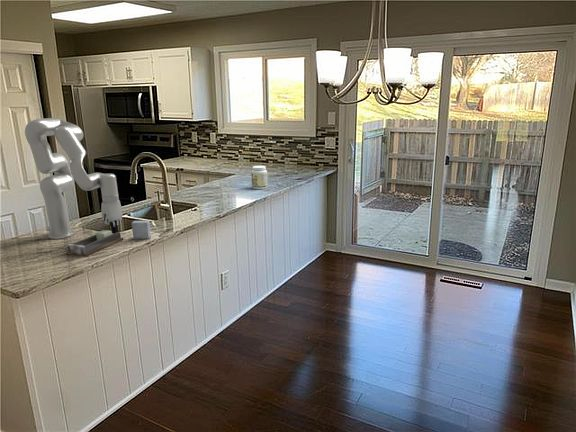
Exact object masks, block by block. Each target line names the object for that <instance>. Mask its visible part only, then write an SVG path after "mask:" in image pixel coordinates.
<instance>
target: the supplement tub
mask: <svg viewBox="0 0 576 432" xmlns="http://www.w3.org/2000/svg"><path fill="white" fill-rule="evenodd" d="M251 169H252V170H251V173H250V174H251V188H252V189H254V190H264V189H265V190H266V189H267V188H268V170H267V168H266V166H265V165H253V166H252V168H251Z"/></svg>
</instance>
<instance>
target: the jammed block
mask: <svg viewBox="0 0 576 432" xmlns="http://www.w3.org/2000/svg"><path fill="white" fill-rule="evenodd" d="M111 234H112V231H111V230H109V229H108V230H107V229H102V230H100V231H97V232H95V235H96V238H97V240H100V239H102V238H104V237H107V236H109V235H111Z"/></svg>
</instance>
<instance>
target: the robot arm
mask: <svg viewBox="0 0 576 432" xmlns="http://www.w3.org/2000/svg"><path fill="white" fill-rule="evenodd" d="M24 136H25V139H26V141H27V143H28V145H29V148H30V151H31V153H32V156H33V159H34V163H35V166H36V168H37V170H38V172H39V173H41V174H43V175H47V174H52V173H54V175H49V176H46V177H44V178H43V179H41V181H40V182H39V189H40V191H41V194H42V196H43V202H44V205H45V209H46V215H47V221H48V225H49V226H48V227H46V228H45V231H47V232H49V233H48V234H47V238H48V239H51V240H57V239H58V240H59V239H66V238H69V237H72V236H74V235H75V230H73V229H72V228H71V223H70V219H69V217H70V216H69V211H68V205H67V201H66V198H65V196H64V195H63V194H62V193H65V192H67V191H70V190H72V189H73V188H74V184H75V183H76V184H77V185H78V186H79V188H80V189H81V190H83V191H89V192H90V191H92V190H95V189H99V188H100V191H101V199H102V202H101V205H100V206H101V208H100V210H101V221H102V222H104V225H106V226H109V227H110V231H112V234H114V233H116V232H120V231H119V225H120V223H119V222H121V220H123V209H122V205H121V200H120V199H119V191H118V183H117V175H115V174H114V173H102V172H93V173H89V174H88V173H87V172H86V170H85V169H84V166H83V160H84V158H85V156H86V155H87V151H86V149H85V148H84V146H83V145H82V143H81V141H82V140H83V138H84V131H83V130H82V129H81V128H80V126H78V125H77V124H74V123H71V122H69V121H66V120H63V119H60V118H56V117H47V118H44V117H43V118H35V119H33V120H30V121H29V122H27V124H26V126H25V128H24ZM50 136H54V137H55V139H56V141H57V143H58V144H59V145H60V147H61V148H62V150H63V151H64V153H65V155H66V156H67V157H68V159H69V161H68V159H67V157H66V156H65V155H64V154H62V153H60V152H53V151H52V149H51V146H50V143H49V142H48V141H47V139H46V138H45V137H50Z"/></svg>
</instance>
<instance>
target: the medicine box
mask: <svg viewBox="0 0 576 432" xmlns="http://www.w3.org/2000/svg"><path fill="white" fill-rule="evenodd" d="M150 224H151V222H150V220H134V221H132V222H131V229H132V230H131V231H132V238H133V240H143V239H144V240H146V239H147V240H148V239H150V238H151V236H152V233H151V230H152V229H151V225H150Z"/></svg>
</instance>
